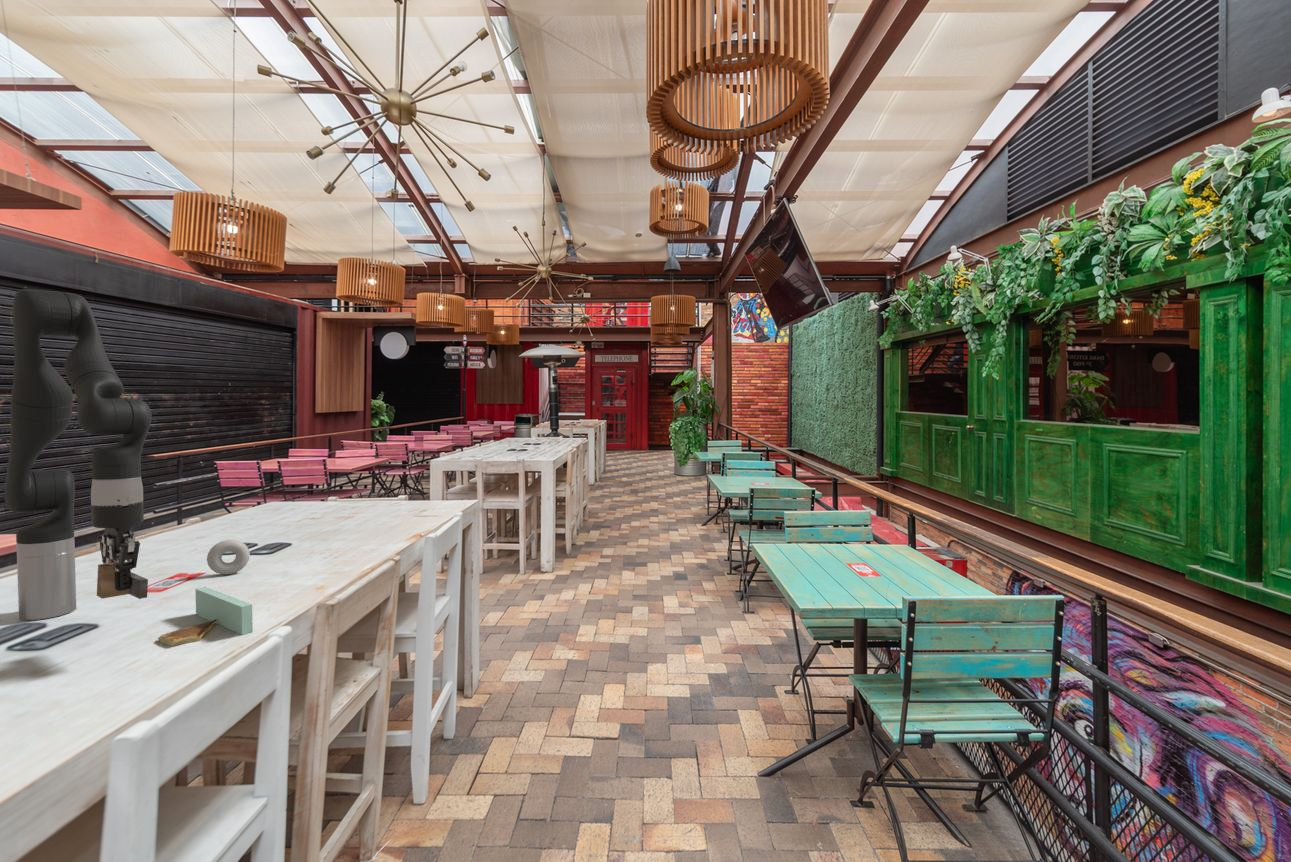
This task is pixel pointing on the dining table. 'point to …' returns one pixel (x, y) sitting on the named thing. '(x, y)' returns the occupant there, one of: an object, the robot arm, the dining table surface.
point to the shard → (187, 634)
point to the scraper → (108, 583)
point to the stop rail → (224, 610)
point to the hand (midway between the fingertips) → (119, 587)
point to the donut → (229, 568)
